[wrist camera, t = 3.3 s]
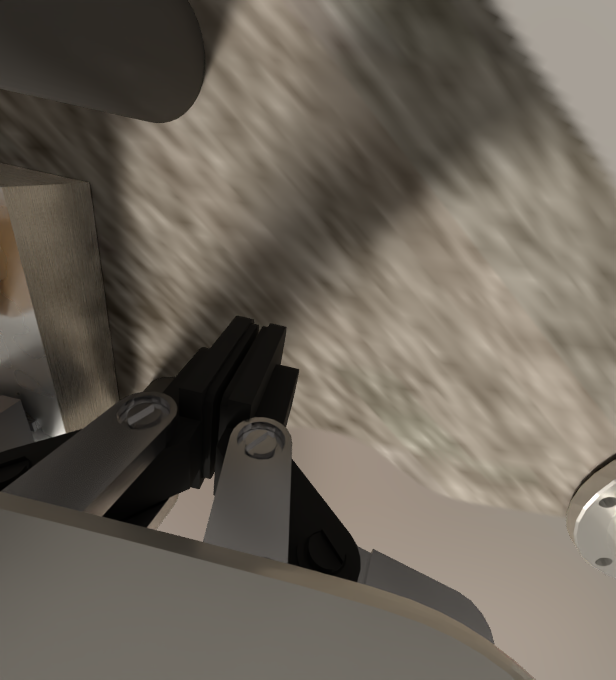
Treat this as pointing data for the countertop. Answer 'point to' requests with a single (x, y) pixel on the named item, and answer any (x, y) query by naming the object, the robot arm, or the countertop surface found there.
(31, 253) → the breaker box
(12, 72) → the post
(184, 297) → the countertop surface
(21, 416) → the grey small block
